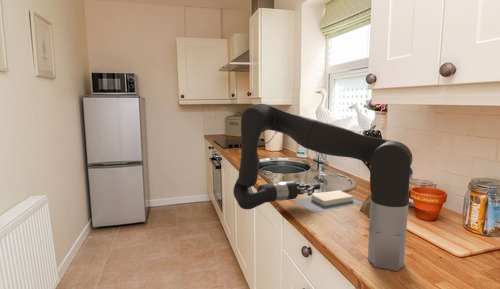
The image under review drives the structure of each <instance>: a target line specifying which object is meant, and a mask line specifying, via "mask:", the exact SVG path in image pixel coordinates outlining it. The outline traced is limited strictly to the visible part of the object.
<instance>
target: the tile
mask: <svg viewBox="0 0 500 289" xmlns="http://www.w3.org/2000/svg"><path fill="white" fill-rule="evenodd" d="M311 197H312V198H311V200H312V201H314V202H316V203H318V204H320V205H322V206H323V207H326V206H332V205H337V204H343V203H349V202H353V198H354V195H351V194H349V193H346V192H344V191H341V190H334V191H327V192H321V193H320V192H319V193H313V194H312V195H311Z"/></svg>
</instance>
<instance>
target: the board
mask: <svg viewBox="0 0 500 289" xmlns="http://www.w3.org/2000/svg"><path fill="white" fill-rule="evenodd" d="M311 198H312V196H309V197H303V198H298V199H297V198H296V199H292V201H293V202H294V203H297V204H299V206H302V207H303V208H305V209H307V210H308V211H310V212H312V213H320V212H324V211H331V210H334V209H335V210H336V209H341V208H346V207H351V206H352V207H353V206H358V205H362V204H363V203H364V202H365V201H364V202H363V201H361V200H360V199H356V198H355V197H353V202H349V203H343V204H337V205H332V206H326V207H323V206H322V205H320V204H318V203H316V202H314V201H312V200H311Z"/></svg>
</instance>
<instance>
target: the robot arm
mask: <svg viewBox="0 0 500 289" xmlns="http://www.w3.org/2000/svg"><path fill="white" fill-rule="evenodd" d="M266 131H274V132H278V133H281V134H285V135H286V136H289V138H291V139H292V140H293V141H294V142H295V143H296V144H298V145H299V146H301V147H302V148H305V149H306V150H310V151H313V152H315V153H318V154H322V155H326V156H327V155H328V156H331V157H332V156H333V157H339V158H340V157H341V158H350V159H355V160H358V161H361V162H364V163H367V164H369V165H370V171H369V172H370V174H369V176H370V177H369V190H370V193H371V205H370V215H369V217H370V218H369V222H368V223H369V226H368V247H367V248H368V249H367V250H368V251H367V259H368V261H369V262H370V263H371V264H372V265H373V267H374V268H379V269H385V270H390V271H395V272H399V271H400V269H402V268H404V266H405V259H406V255H405V254H406V242H407V231H408V230H407V228H408V227H407V226H408V213H409V204H410V203H409V179H410V167H411V166H412V164H411V163H412V162H413V155H412V151H411V150H410V148H409V147H408V146H407V145H406V144H404V143H402V142H400V141H397V140H392V139H386V138H385V139H384V138H378V137H375V136H373V137H372V136H368V135H364V134H361V133H358V132H355V131H353V130H350V129H348V128H344V127H341V126H339V125H335V124H332V123H329V122H325V121H322V120H319V119H315V118H310V117H306V116H302V115H298V114H294V113H290V112H287V111H284V110H282V109H280V108H277V107H275V106H272V105H270V104H267V103H259V104H256V105H252V106H250V107H248V108H246V109H244V111H243V112H242V114H241V117H240V136H241V137H240V142H241V144H240V146H241V148H240V150H241V152H240V155H241V156H240V164H239V169H238V170H239V171H238V177H237V179H236V181H235V183H234V186H233V189H232V190H233V191H232V192H233V196H234V198H235V200H236V203H237V204H238V206H239V207H240V208H241V209H243V210H252V209H254V208H257V207H260V206H261V205H263V204H265V203H273V202H284V201H290V200H291V201H292V200H296V199H297V197H298V195H300V196H303V195H305V194H307V196H309V197H312V195H313V194H315V191H316V190H320V189H321V185H322V184H321V183H318V182H317V183H310V182H309V183H308V182H303V181H300V182H299V181H294V180H284V181H277V182H273V183H265V184H261V185H259V186H258V187H257V190H256V192H254V191H253V190H252V187H254V186H256V184H257V181H258V178H259V172H260V164H261V163H260V157H259V153H258V143H259V140H260V138H261V134H262V133H264V132H266ZM408 203H409V204H408Z"/></svg>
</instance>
